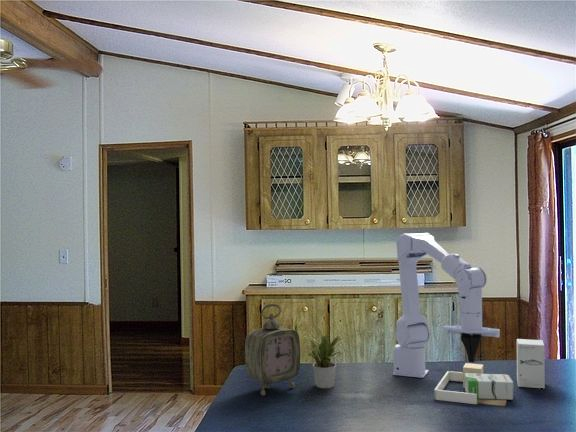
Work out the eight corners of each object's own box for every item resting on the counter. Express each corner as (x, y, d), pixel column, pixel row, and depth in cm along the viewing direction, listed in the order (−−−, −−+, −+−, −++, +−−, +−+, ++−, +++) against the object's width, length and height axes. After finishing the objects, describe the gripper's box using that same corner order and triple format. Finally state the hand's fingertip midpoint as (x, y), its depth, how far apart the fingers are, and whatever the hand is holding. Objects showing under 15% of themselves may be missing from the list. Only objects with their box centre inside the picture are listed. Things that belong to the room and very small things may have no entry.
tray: (434, 399, 165) (433, 389, 165) (447, 379, 183) (447, 370, 183) (476, 404, 160) (476, 394, 160) (486, 383, 179) (485, 374, 179)
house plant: (360, 390, 174) (359, 333, 174) (316, 396, 169) (315, 338, 169) (338, 377, 188) (337, 324, 187) (297, 383, 183) (296, 328, 182)
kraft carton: (463, 388, 175) (462, 367, 175) (465, 383, 180) (465, 363, 179) (481, 389, 173) (481, 368, 173) (483, 385, 177) (483, 364, 177)
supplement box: (517, 387, 174) (516, 343, 174) (516, 380, 181) (516, 338, 181) (545, 389, 172) (544, 345, 172) (543, 382, 179) (542, 339, 179)
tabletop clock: (261, 399, 168) (259, 308, 168) (242, 391, 175) (240, 305, 175) (301, 388, 177) (299, 302, 177) (281, 381, 184) (280, 299, 184)
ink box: (467, 399, 164) (514, 400, 162) (467, 380, 164) (513, 382, 162) (464, 389, 173) (508, 391, 170) (464, 372, 173) (508, 373, 170)
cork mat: (465, 401, 163) (465, 401, 163) (471, 390, 173) (471, 389, 173) (505, 406, 158) (505, 405, 158) (508, 394, 168) (508, 393, 168)
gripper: (441, 312, 166) (442, 362, 166) (497, 316, 160) (498, 367, 160) (446, 308, 173) (447, 356, 173) (500, 311, 167) (500, 361, 167)
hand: (471, 361), depth 167 cm, fingers closed
